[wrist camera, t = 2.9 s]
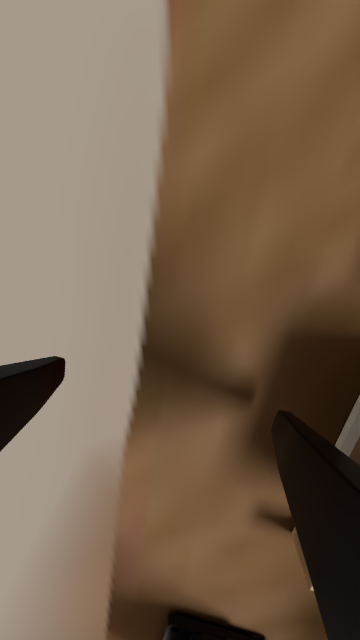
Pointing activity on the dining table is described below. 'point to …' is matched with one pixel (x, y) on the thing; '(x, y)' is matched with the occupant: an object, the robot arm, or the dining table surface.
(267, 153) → the dining table surface
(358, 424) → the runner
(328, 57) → the dining table surface
